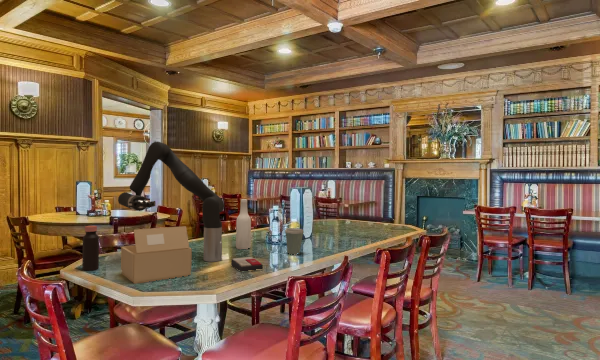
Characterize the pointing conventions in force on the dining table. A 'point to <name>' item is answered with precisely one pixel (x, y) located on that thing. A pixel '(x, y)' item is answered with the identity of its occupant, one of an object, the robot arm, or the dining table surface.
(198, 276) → the dining table surface
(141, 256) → the carton
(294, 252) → the disposable coffee cup
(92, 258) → the bottle
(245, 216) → the alcohol
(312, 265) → the dining table surface
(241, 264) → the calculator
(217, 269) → the dining table surface
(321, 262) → the dining table surface
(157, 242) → the carton flap
